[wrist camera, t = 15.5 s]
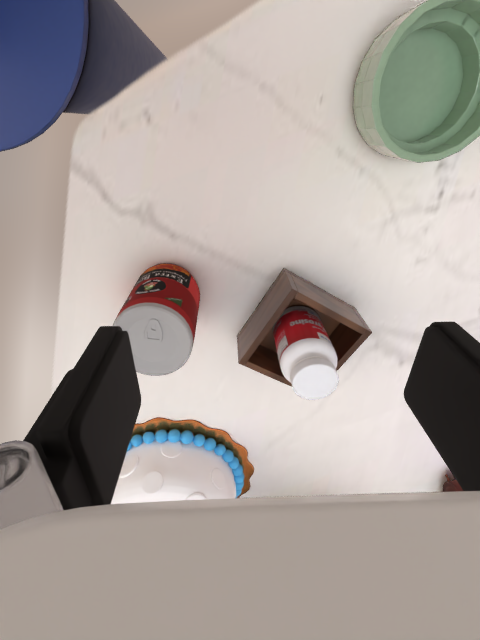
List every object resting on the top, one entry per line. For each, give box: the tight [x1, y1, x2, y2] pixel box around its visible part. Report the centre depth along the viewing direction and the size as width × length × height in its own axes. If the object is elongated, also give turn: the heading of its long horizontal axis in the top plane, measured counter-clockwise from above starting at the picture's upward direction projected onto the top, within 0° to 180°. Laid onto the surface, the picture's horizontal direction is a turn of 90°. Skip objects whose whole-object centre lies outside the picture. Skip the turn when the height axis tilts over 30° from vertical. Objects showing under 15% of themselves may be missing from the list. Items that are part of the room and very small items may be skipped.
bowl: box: [353, 0, 480, 163], centre depth 29 cm, size 11×11×5 cm
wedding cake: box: [111, 418, 254, 504], centre depth 51 cm, size 28×28×18 cm
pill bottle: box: [273, 306, 339, 400], centre depth 38 cm, size 6×6×11 cm
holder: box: [237, 268, 372, 387], centre depth 41 cm, size 11×11×6 cm
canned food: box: [113, 264, 200, 376], centre depth 36 cm, size 8×8×11 cm
